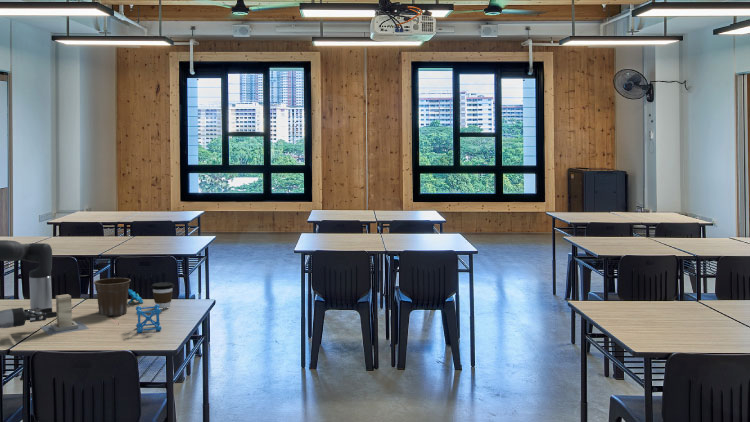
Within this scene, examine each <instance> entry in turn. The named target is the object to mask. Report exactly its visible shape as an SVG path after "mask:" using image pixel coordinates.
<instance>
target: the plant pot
mask: <svg viewBox="0 0 750 422" xmlns="http://www.w3.org/2000/svg"><path fill="white" fill-rule="evenodd" d="M130 282H131V279H130V278H126V277H109V278H101V279H97V280H95V281H93V285H94V288H95V289H94V290H95V291H96V297H97V305H98V308H97V309H98V314H99V315H102V316H105V317H111V316H113V317H119V316H123V315H126V314H127V312H128V297H129V293H128V289H130Z"/></svg>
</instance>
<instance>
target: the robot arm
mask: <svg viewBox="0 0 750 422" xmlns="http://www.w3.org/2000/svg"><path fill="white" fill-rule="evenodd" d="M0 261H1V262H16V261H25V262H27V263H28V262H29V263H38V267H37V268H35V269H32V270H29V273H28V276H29V279H28V280H29V301H30V302H29V304H30V305H29V306H30V308H29V309H27V308H26V309H25V308H24V307H15V308H9V309H2V310H0V329H10V328H16V327H23V326H25V325H26V321H29V322H30V323H36V322H42V321H43V322H44V321H47V320H48V319H51V318H52V319H53V318H57V313H56V311H53V296H52V295H53V294H52V290H53V289H52V271H53V270H52V269H53V249H52V245H50V244H49V243H41V242H40V243H38V242H37V243H34V242H33V243H20V242H18V241H16V240H7V239H6V240H5V239H3V240H1V239H0Z"/></svg>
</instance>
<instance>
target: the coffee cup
mask: <svg viewBox="0 0 750 422" xmlns="http://www.w3.org/2000/svg"><path fill="white" fill-rule="evenodd" d="M150 288H151V290H152V296H153V300H154V303H155V304H154V306H155V305H156V304H158V305H159V306H160V308H167V307H169V308H170V307H171V303H172V297H173V288H175V284H174V283H172V282H169V281H167V282H166V281H165V282H164V281H163V282H162V281H161V282H155V283H153V284H152V285H151V287H150Z"/></svg>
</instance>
